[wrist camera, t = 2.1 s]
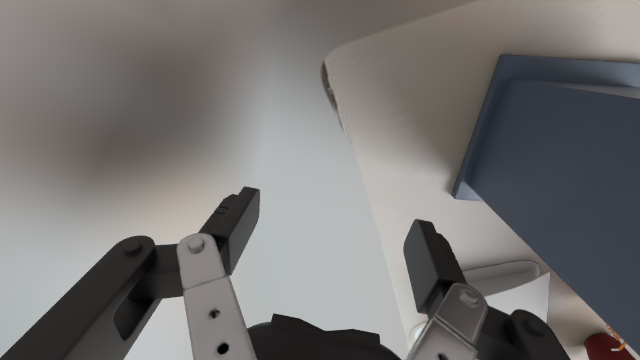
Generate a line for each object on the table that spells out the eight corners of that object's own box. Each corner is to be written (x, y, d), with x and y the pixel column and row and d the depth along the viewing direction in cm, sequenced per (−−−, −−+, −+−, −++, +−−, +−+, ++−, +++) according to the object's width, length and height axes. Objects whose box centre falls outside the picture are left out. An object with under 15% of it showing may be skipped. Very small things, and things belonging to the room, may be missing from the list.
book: (447, 359, 48) (456, 383, 45) (430, 277, 39) (440, 300, 35) (536, 348, 45) (553, 373, 42) (541, 256, 36) (564, 278, 32)
